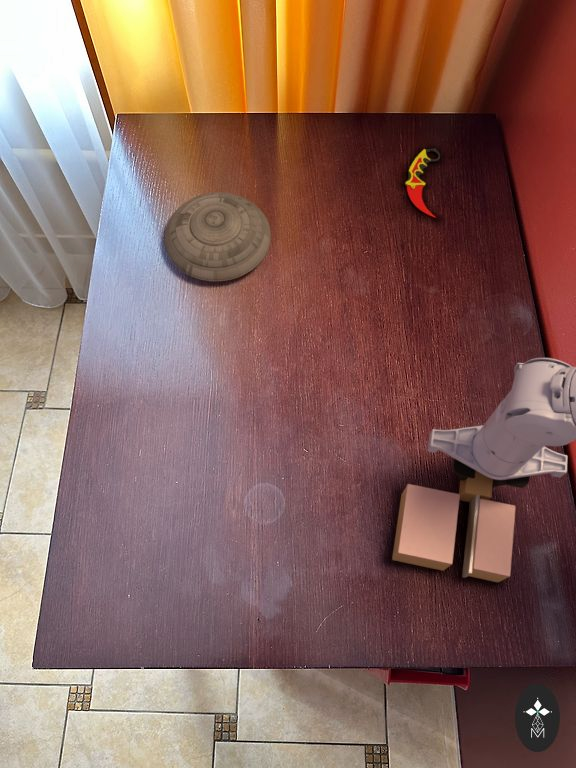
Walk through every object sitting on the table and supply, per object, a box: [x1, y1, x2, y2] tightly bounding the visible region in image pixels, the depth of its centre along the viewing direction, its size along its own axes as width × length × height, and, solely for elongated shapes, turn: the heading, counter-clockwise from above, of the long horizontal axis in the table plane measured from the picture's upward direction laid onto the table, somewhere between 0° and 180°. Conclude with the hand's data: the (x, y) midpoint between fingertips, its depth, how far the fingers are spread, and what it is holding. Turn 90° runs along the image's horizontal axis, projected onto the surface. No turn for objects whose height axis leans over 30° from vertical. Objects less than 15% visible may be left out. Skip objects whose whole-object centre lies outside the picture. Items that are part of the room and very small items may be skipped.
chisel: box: [458, 471, 493, 579], centre depth 80 cm, size 15×3×4 cm, turn 168°
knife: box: [404, 147, 441, 219], centre depth 102 cm, size 13×1×5 cm
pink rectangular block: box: [391, 483, 460, 572], centre depth 79 cm, size 6×8×4 cm
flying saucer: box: [163, 191, 272, 282], centre depth 95 cm, size 15×15×6 cm
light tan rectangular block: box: [468, 499, 516, 583], centre depth 78 cm, size 4×8×4 cm, turn 168°
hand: (476, 475), depth 82 cm, fingers closed on chisel, 3 cm apart
